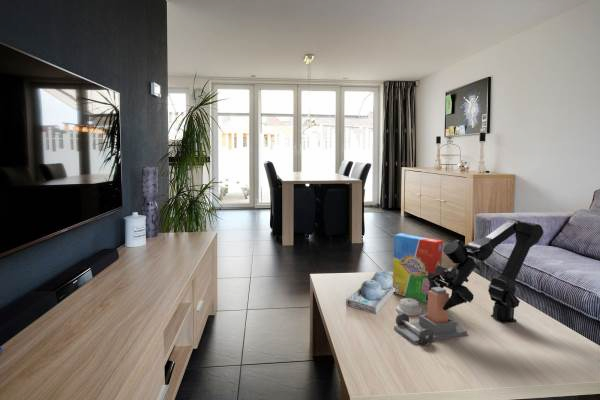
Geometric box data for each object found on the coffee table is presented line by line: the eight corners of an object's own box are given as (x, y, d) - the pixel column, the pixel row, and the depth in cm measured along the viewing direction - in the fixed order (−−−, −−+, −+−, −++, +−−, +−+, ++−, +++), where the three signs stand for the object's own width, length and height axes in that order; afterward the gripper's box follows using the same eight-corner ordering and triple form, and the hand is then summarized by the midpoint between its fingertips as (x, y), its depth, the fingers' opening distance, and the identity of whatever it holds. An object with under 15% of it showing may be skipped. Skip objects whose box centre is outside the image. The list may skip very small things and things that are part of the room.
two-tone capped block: (438, 323, 143) (439, 285, 141) (447, 329, 138) (449, 290, 136) (426, 325, 141) (428, 287, 140) (435, 331, 136) (437, 292, 135)
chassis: (441, 319, 149) (442, 306, 149) (470, 335, 135) (470, 322, 135) (391, 327, 142) (392, 314, 142) (416, 346, 128) (417, 331, 128)
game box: (391, 292, 178) (393, 234, 175) (398, 290, 182) (400, 232, 179) (434, 305, 163) (436, 241, 160) (440, 302, 166) (443, 239, 163)
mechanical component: (396, 315, 154) (422, 317, 152) (396, 304, 153) (423, 306, 151) (395, 305, 163) (420, 307, 161) (396, 295, 163) (420, 297, 161)
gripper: (432, 251, 147) (406, 282, 144) (468, 264, 129) (439, 300, 127) (448, 269, 150) (423, 300, 148) (485, 284, 133) (458, 320, 130)
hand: (434, 304), depth 138 cm, fingers open, 9 cm apart
